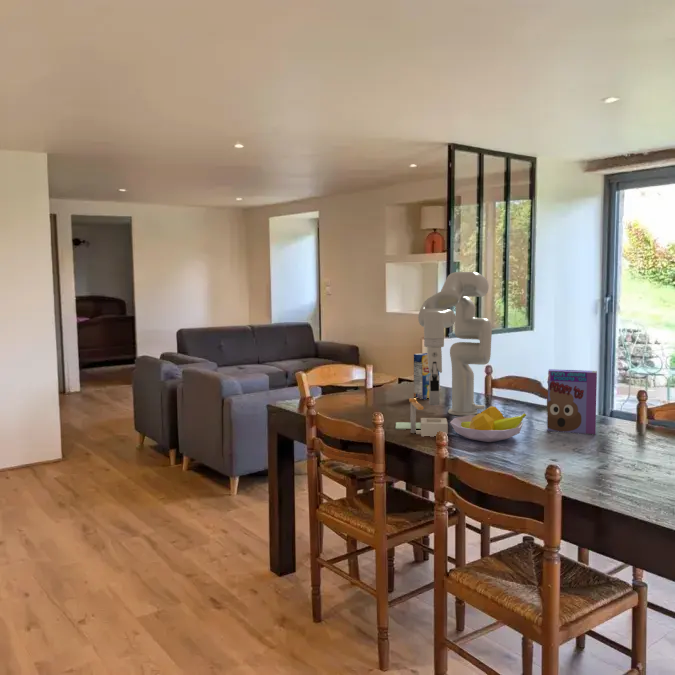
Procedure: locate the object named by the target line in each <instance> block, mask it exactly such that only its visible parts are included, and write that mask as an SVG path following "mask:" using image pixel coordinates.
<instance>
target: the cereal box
mask: <svg viewBox="0 0 675 675" xmlns="http://www.w3.org/2000/svg"><path fill="white" fill-rule="evenodd" d="M547 372H548V373H547V374H548V377H547V429H546V430H547V432H549V433H550V432H552V433H565V434H567V433H568V434H578V433H579V434H581V435H592V434H593V436H595V435H596V426H597V423H596V422H597V420H596V419H597V389H598V388H597V384H598V382H597V381H598V380H597V379H598V371H597V370H583V369H582V370H581V369H579V370H578V369H577V370H576V369H575V370H574V369H555V368H549V369H548V371H547Z"/></svg>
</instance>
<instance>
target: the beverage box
mask: <svg viewBox="0 0 675 675" xmlns="http://www.w3.org/2000/svg"><path fill="white" fill-rule="evenodd" d="M429 376H430V372H429V368H428V354H427V352H423V353H413V398H414V397H418V398H421V399H420V400H422V399H424V400H427V399H426V398H429V390H428V386H429ZM438 376H440V372H439V371H438Z"/></svg>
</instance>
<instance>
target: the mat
mask: <svg viewBox="0 0 675 675" xmlns="http://www.w3.org/2000/svg"><path fill="white" fill-rule="evenodd" d="M406 429H411V421H409V422H406V421H405V422H403V421H402V422H395V430H406ZM416 429H421V422H416Z"/></svg>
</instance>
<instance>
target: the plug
mask: <svg viewBox="0 0 675 675" xmlns="http://www.w3.org/2000/svg"><path fill="white" fill-rule="evenodd" d="M432 378H433V377H432ZM430 380H431V376H429V386H428V390H429V399H428V401H429V403H428V405H429V406H439V405H441V399H440V398H441V396H440V395H441V393H440V392H441V390H442V386H440V384H441V382H440V375H439V376H438V380H439V391H431V390H430Z"/></svg>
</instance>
